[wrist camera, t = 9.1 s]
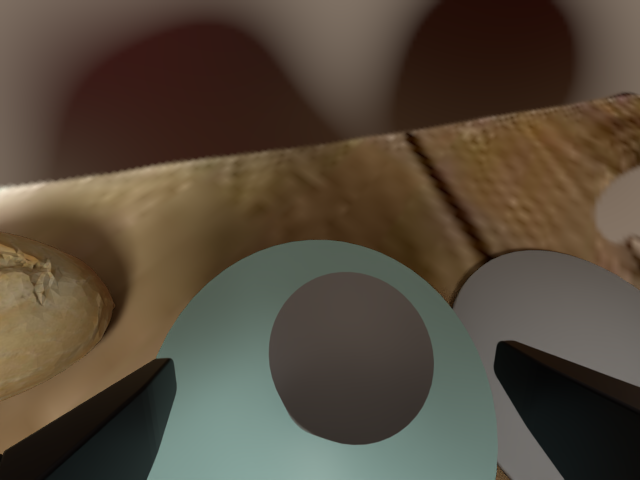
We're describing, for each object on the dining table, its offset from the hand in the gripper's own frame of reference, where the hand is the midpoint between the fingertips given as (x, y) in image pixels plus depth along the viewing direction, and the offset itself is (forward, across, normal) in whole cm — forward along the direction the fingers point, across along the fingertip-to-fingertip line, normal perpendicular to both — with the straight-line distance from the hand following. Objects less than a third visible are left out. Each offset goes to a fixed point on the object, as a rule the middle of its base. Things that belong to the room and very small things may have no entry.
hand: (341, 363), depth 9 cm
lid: (+5, 0, +5) cm, 7 cm away
